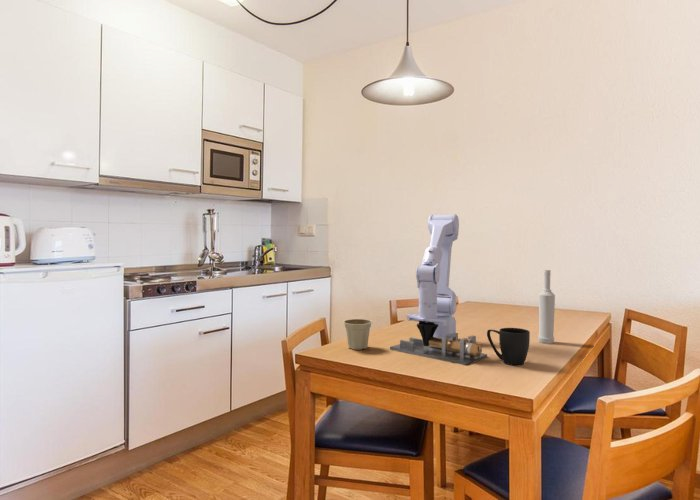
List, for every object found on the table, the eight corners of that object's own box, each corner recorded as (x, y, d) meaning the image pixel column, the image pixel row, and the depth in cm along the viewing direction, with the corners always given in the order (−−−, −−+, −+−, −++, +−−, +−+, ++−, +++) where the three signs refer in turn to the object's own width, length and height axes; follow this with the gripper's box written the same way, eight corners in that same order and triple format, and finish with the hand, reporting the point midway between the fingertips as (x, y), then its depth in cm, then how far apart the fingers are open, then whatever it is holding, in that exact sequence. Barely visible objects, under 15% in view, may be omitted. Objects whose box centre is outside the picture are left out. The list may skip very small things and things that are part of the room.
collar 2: (471, 356, 142) (472, 335, 141) (475, 357, 141) (475, 335, 141) (459, 361, 136) (460, 339, 136) (463, 361, 135) (463, 339, 135)
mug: (492, 355, 142) (493, 324, 142) (533, 362, 135) (533, 330, 135) (481, 361, 136) (482, 328, 136) (523, 368, 128) (524, 334, 128)
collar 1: (454, 352, 146) (454, 332, 145) (457, 353, 145) (457, 333, 145) (441, 357, 140) (442, 336, 140) (445, 358, 139) (445, 336, 139)
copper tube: (428, 349, 145) (428, 337, 145) (434, 347, 148) (435, 335, 148) (475, 358, 135) (476, 345, 135) (481, 356, 137) (481, 343, 137)
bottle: (555, 344, 158) (557, 270, 158) (539, 343, 159) (540, 270, 159) (552, 341, 163) (553, 269, 163) (536, 340, 164) (537, 269, 164)
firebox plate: (413, 342, 159) (413, 335, 159) (487, 356, 141) (487, 348, 141) (389, 349, 150) (390, 341, 150) (466, 365, 132) (466, 356, 132)
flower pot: (347, 352, 146) (347, 324, 146) (340, 345, 155) (340, 319, 155) (375, 350, 148) (376, 323, 148) (367, 343, 158) (367, 318, 157)
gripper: (401, 301, 149) (401, 344, 150) (441, 306, 140) (440, 351, 140) (414, 299, 155) (413, 340, 155) (453, 304, 145) (452, 347, 145)
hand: (427, 345), depth 148 cm, fingers closed
